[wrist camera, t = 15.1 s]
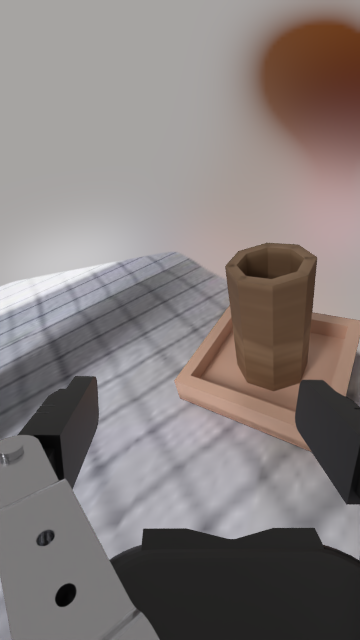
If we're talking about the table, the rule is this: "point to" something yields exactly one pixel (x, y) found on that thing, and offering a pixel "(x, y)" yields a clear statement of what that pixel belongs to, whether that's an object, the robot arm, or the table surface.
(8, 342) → the table surface
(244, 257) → the octagonal pencil holder
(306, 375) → the tray
